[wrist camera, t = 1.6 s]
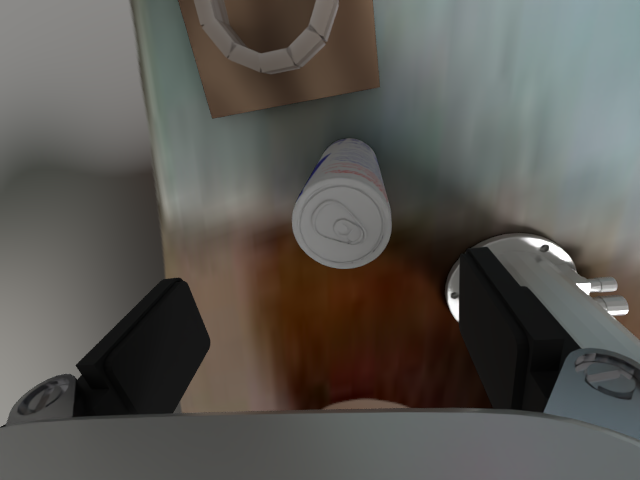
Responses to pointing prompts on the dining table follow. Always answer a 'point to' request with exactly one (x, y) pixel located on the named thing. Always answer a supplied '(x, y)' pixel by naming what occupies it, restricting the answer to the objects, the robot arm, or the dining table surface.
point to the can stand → (280, 50)
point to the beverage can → (343, 207)
